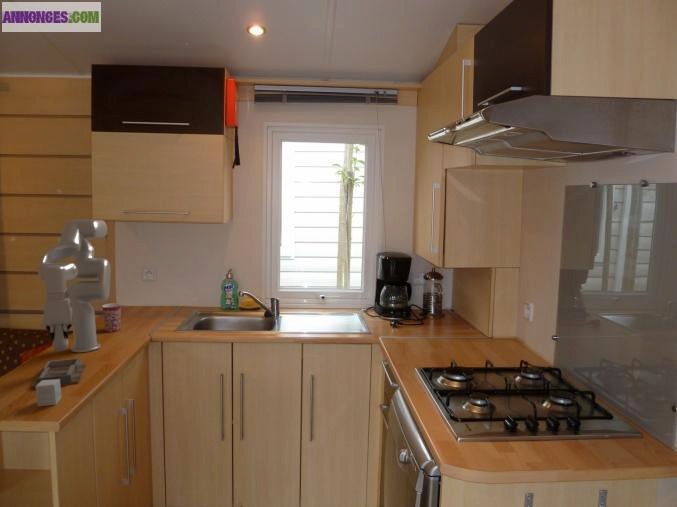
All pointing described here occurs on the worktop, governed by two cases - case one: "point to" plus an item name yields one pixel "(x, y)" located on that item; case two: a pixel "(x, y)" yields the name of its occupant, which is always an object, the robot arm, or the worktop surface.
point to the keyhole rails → (57, 363)
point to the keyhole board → (62, 371)
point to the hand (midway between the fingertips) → (60, 340)
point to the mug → (112, 317)
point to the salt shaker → (59, 338)
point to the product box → (48, 392)
